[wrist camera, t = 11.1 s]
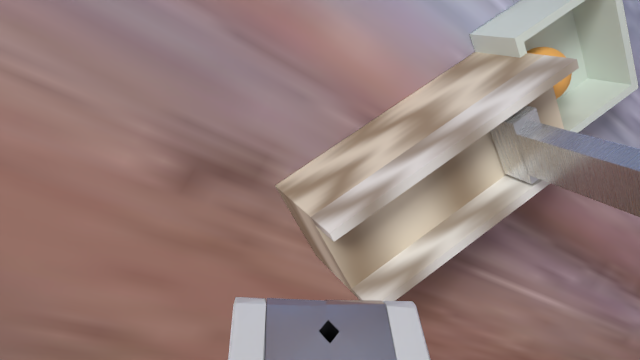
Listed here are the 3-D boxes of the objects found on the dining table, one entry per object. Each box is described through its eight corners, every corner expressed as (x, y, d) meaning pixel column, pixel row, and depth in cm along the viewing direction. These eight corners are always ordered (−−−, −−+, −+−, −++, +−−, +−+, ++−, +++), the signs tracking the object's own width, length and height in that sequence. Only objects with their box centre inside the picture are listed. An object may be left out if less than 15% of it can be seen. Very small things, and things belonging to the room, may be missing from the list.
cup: (504, 140, 43) (548, 154, 39) (469, 34, 39) (514, 38, 35) (588, 79, 45) (638, 87, 41) (563, -28, 41) (616, -31, 37)
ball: (505, 56, 38) (538, 27, 40) (495, 97, 41) (526, 69, 43) (557, 82, 36) (590, 51, 38) (543, 123, 39) (573, 93, 41)
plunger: (496, 179, 36) (736, 279, 23) (476, 122, 34) (727, 198, 21) (528, 155, 36) (780, 240, 23) (510, 98, 34) (775, 157, 21)
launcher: (316, 255, 39) (375, 315, 32) (275, 185, 36) (329, 233, 29) (505, 121, 43) (597, 147, 35) (481, 47, 40) (576, 59, 32)
